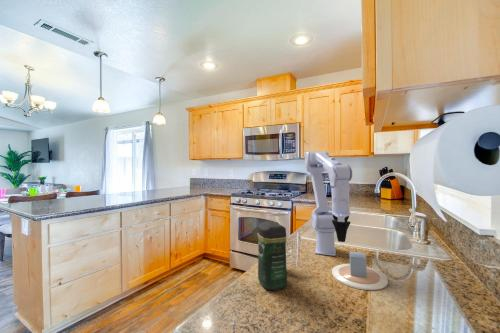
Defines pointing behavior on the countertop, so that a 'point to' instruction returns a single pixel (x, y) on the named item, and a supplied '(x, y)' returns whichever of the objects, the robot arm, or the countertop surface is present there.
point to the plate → (360, 278)
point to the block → (358, 264)
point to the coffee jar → (272, 255)
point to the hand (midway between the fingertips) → (341, 238)
